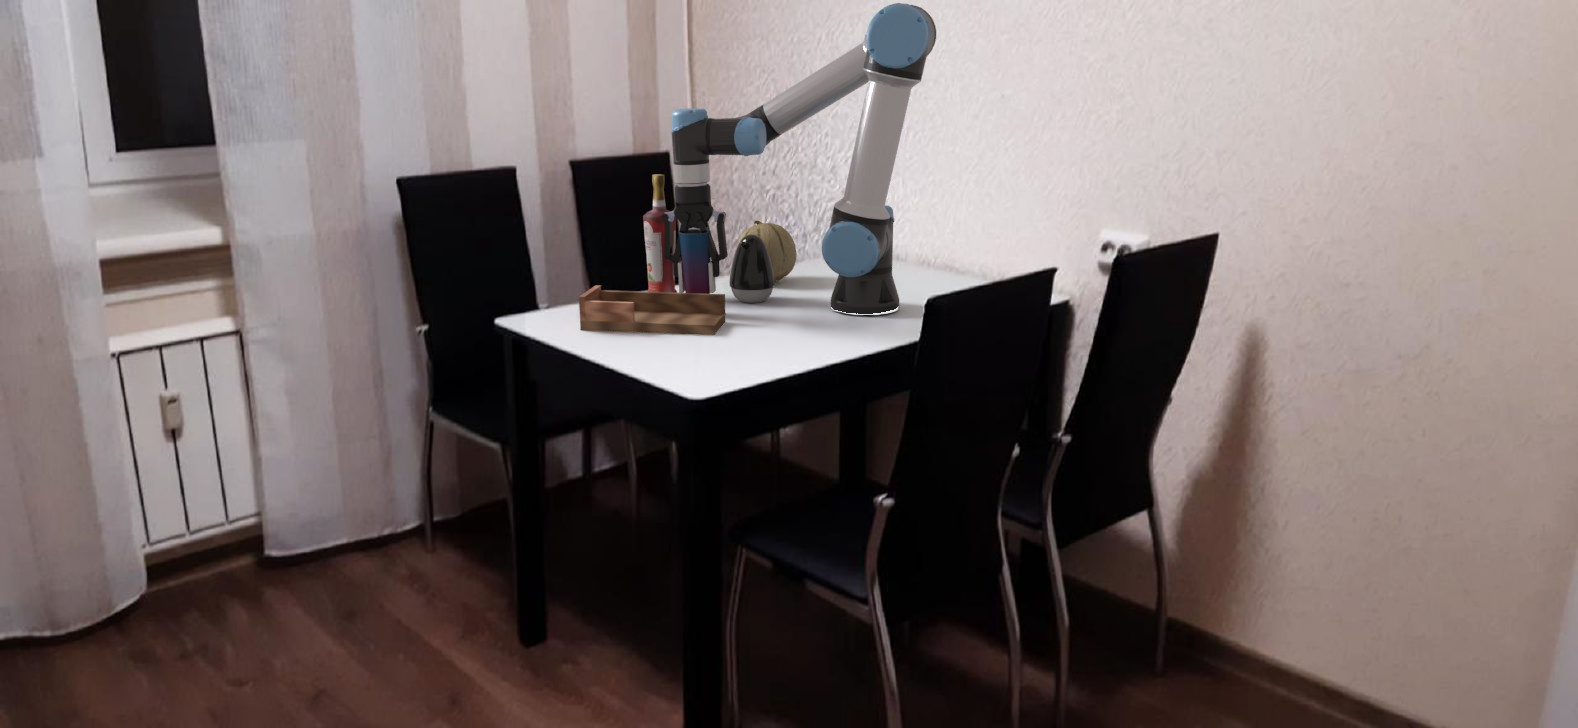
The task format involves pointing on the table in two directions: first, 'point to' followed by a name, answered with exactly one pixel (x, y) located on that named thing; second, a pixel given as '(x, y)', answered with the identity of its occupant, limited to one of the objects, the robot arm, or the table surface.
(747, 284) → the black egg-shaped device
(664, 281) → the liquor
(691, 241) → the cup
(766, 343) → the table surface
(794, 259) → the cantaloupe
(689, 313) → the board
